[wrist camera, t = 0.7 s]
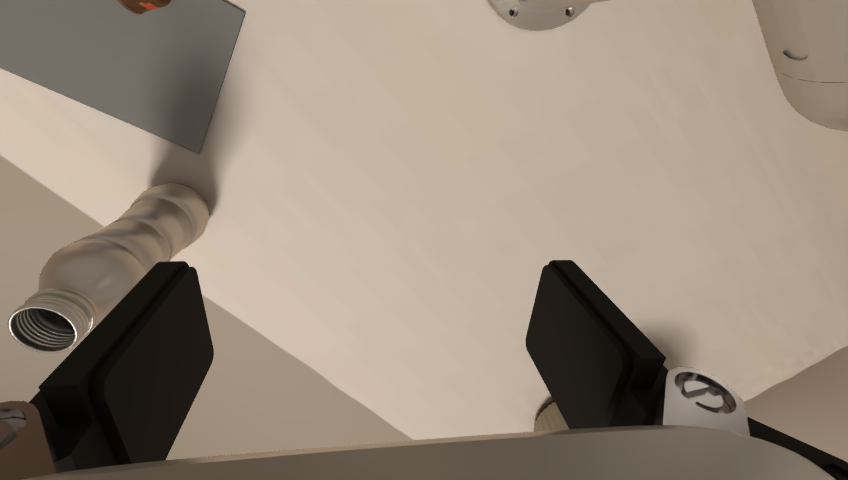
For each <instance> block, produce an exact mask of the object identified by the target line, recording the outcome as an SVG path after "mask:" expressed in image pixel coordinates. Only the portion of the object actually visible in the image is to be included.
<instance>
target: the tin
mask: <svg viewBox="0 0 848 480" xmlns="http://www.w3.org/2000/svg"><path fill="white" fill-rule="evenodd" d="M117 1H118V2H119V3H120V4H121V5H122V6H123V7H125V8H126V9H127V10H129V11H130V12H132V13H134V14H137V15H141V14H143V13H144V12H146V11H150V10H154V9H158V8H162V7H164V6H167V5H168V4H169V3H170V2H171V0H117Z"/></svg>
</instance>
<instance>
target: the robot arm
mask: <svg viewBox="0 0 848 480" xmlns="http://www.w3.org/2000/svg"><path fill="white" fill-rule="evenodd" d="M488 1H489V3H490V5H491V6H492V7H493V9H494V10H495V11H496V12H497V13H498V15H499V16H501V17H502V18H503V19H504V20H506V21H507V22H508V23H510V24H512V25H514V26H516V27H518V28H521V29H526V30H530V31H541V30H548V29H553V28H556V27H559V26H562V25H565V24H566V23H568V22H570V21H572V20H573V19H575V18H576V17H577V16H578V15H580V14H581V13H582V12H583V11H584V10H585V9H586V8H587V7H588V6H589V5H590V4H591V3H597V2H602V1H608V0H488ZM752 1H753V5H754V8H755V11H756V14H757V18H758V21H759V24H760V27H761V31H762V34H763V37H764V40H765V44H766V47H767V50H768V53H769V57H770V60H771V63H772V64H773V68H774V71H775V74H776V77H777V80H778V82H779V84H780V87H781V89H782V91H783V94H784V96H785V97H786V99H787V100H788V102H789V103H790V104H791V106H792V107H793V108H794V109H795V110H796V111H797V112H798V113H799V114H801V115H802V116H803V117H805V118H806V119H808V120H809V121H811V122H813V123H816V124H818V125H821V126H823V127H826V128H830V129H834V130H841V131H848V0H752ZM566 9H567V10H568V14H567V15H566ZM510 10H512V11H513V15H512V16H511V15H510V14H509V11H510ZM526 347H527V350H528V352H529V354H530V356H531V358H532V360H533V362H534V364H535V366H536V368H537V369H538V371H539V373H540V375H541V377H542V379H543V381H544V383H545V384H546V386H547V388H548V390H549V392H550V394H551V396H552V398H553V399H554V401H555V403H556V405H557V407H558V409H559V411H560V413H561V414H562V416H563V418H564V420H565V422H566V424H567V426H568V428H569V429H566V430H552V431H537V432H523V433H508V434H494V435H479V436H465V437H452V438H438V439H425V440H411V441H398V442H385V443H371V444H358V445H346V446H332V447H320V448H307V449H295V450H282V451H270V452H258V453H245V454H233V455H221V456H208V457H198V458H187V459H176V460H166V458H167V455H168V453H169V451H170V449H171V447H172V445H173V443H174V441H175V439H176V436H177V435H178V433H179V430H180V428H181V426H182V424H183V422H184V420H185V418H186V416H187V414H188V412H189V410H190V407H191V405H192V403H193V401H194V399H195V397H196V395H197V393H198V391H199V389H200V386H201V385H202V382H203V380H204V378H205V376H206V374H207V372H208V370H209V368H210V366H211V364H212V360H213V355H214V353H213V352H214V351H213V345H212V340H211V336H210V331H209V326H208V322H207V317H206V313H205V308H204V303H203V299H202V294H201V289H200V285H199V280H198V275H197V271H196V269H195V268H194V267H189V265H188V264H187V263H186V262H185V261H179V262H158V263H156V264H155V265H154V266H153V267H152V268H151V269H150V271H149V272H148V273H147V274H146V275H145V276H144V277H143V278H142V279H141V280H140V281H139V282H138V283H137V284H136V285H135V286H134V287H133V288H132V289H131V290H130V292H129V293H128V294H127V295H126V296H125V297H124V298H123V299H122V300H121V301H120V302H119V303H118V304H117V305H116V306H115V307H114V308H113V309H112V310H111V311H110V313H109V314H108V315H107V316H106V317H105V318H104V319H103V320H102V321H101V322H100V323H99V324H98V325H97V326H96V327H95V328H94V329H93V330H92V331H91V332H90V333H89V335H88V336H87V337H86V338H85V339H84V340H83V341H82V342H81V343H80V344H79V345H78V346H77V347H76V348H75V349H74V350H73V351H72V352H71V354H69V356H68V357H67V358H66V359H65V360H64V361H63V362H62V363H61V364H60V365H59V366H58V367H57V368H56V369H55V370H54V371H53V373H51V374H50V375H49V377H48V378H47V379H46V380H45V381H44V382H43V383H42V384H41V385H40V386H39V389H40V391H39V392H38V393H37V394H36V395H35V396H34V398H33V399H32V400H31V401H30V402H29V403H28V402H25V401H8V402H2V403H0V480H848V463H847V462H845V461H843V460H841V459H839V458H837V457H835V456H832V455H830V454H828V453H826V452H824V451H821V450H819V449H817V448H815V447H812V446H810V445H808V444H806V443H804V442H802V441H799V440H797V439H795V438H793V437H790V436H788V435H786V434H784V433H782V432H779V431H777V430H775V429H773V428H770V427H768V426H766V425H764V424H762V423H760V422H757V421H755V420H753V419H751V418H749V417H747V414H746V408H745V405H744V403H743V400H742V399H741V398H740V397H739V395H738V394H737V393H736V392H735V391H734V390H733V389H732V388H731V387H730V386H728V385H727V384H726V383H724V382H723V381H721V380H720V379H718V378H717V377H715V376H713V375H710V374H708V373H706V372H704V371H701V370H698V369H694V368H689V367H676V368H673V369H671V370H670V371H668V370H667V369H666V368H665V367H664V365H663V363H664V361H665V359H666V357H665V356H664V355H663V354H662V353H661V352H660V351H659V350H658V349H657V348H656V347H655V346H654V345H653V344H652V343H651V342H650V340H649V339H648V338H647V337H646V336H645V335H644V334H643V333H642V332H641V331H640V330H639V329H638V328H637V327H636V326H635V325H634V324H633V323H632V322H631V321H630V320H629V319H628V318H627V317H626V316H625V315H624V313H623V312H622V311H621V310H620V309H619V308H618V307H617V306H616V305H615V304H614V303H613V302H612V301H611V300H610V299H609V298H608V297H607V296H606V295H605V294H604V293H603V292H602V291H601V290H600V289H599V288H598V286H597V285H596V284H595V283H594V282H593V281H592V280H591V279H590V278H589V277H588V276H587V275H586V274H585V273H584V272H583V271H582V270H581V269H580V268H579V267H578V266H577V265H576V264H575V263H574V262H573V261H571V260H552V261H550V263H549V264H548V265H546V266H544V267H543V270H542V274H541V278H540V282H539V286H538V290H537V294H536V298H535V303H534V307H533V311H532V315H531V319H530V323H529V327H528V332H527V336H526Z"/></svg>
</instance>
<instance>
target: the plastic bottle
mask: <svg viewBox="0 0 848 480" xmlns="http://www.w3.org/2000/svg"><path fill="white" fill-rule="evenodd" d="M208 220H209V211H208V207H207V205H206V203H205V201H204V200H203V198H202V197H201V196H200V195H199V194H198V193H197V192H196V191H194V190H193V189H191V188H189V187H187V186H184V185H182V184H177V183H165V184H161V185H158V186H154V187H152V188H149V189H147V190H146V191H144V192H143V193H142V194H141V195H140V196H139V197H138V198H137V199H136V200H135V201H134V202H133V204H132V205H131V207H130V208H129V209H128V210H127V211H126V212H125V213H124V214H123V215H122V216H121V217H120V218H119V219H118V220H116V221H114V222H113V223H111V224H109V225H108V226H106V227H105V228H103V229H101V230H100V231H98V232H96V233H94V234H91V235H89V236H87V237H84V238H82V239H80V240H78V241H76V242H73V243H71V244H69V245H67V246H66V247H64V248H62V249H60V250H59V251H57V252H56V253H54V254H53V255H52V256H51V258H49V260H48V261H47V263H46V264H45V266H44V267H43V269H42V271H41V273H40V277H39V287H38V292H37V293H35V294H34V295H32V296H31V297H30V298H29V299H28V300H27V301H26V302H25V304H24V305H22V306H21V307H20V308H18V309H17V310H15V312H14V313H13V314H12V315H11V316H10V318H9V320H8V329H9V331H10V334H11V335H12V337H13V338H14V339H15V340H16V341H17V342H18V343H20V344H21V345H23V346H24V347H26V348H28V349H30V350H33V351H36V352H41V353H59V352H63V351H66V350H68V349H70V348H71V347H72V346H74V345H75V344H76V343H77V342H78V341H79V340H80V339H81V338H82V337H84V336H85V335H87V334H88V333H89V332H90V331H91V330H92V329H93V328H94V326H97V325H98V324H99V323H100V322H101V321H102V320H103V319H104V318H105V317H106V316H107V315H108V314H109V313H110V311H111V310H112V309H113V308H114V307H115V306H116V305H117V304H118V303H119V302H120V301H121V300H122V299H123V298H124V297H125V296H126V295H127V294H128V293H129V292H130V290H131V289H132V288H133V287H134V286H135V285H136V284H137V283H138V282H139V281H140V280H141V279H142V278H143V277H144V276H145V275H146V274H147V273H148V272H149V271H150V269H151V268H152V267H153V266H154V265H155V264H156V263H158V262H169V261H170V260H171V259H172V258H173V257H174V256H175V255H177V254H178V253H179V252H180V251H181V250H182V249H184V248H186V247H188V246H189V245H191V244H192V243H193V242H195V241H196V240H197V239H198V238H199V237H200V236H201V235H202V234H203V232H204V231H205V228H206V226H207V223H208Z"/></svg>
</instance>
